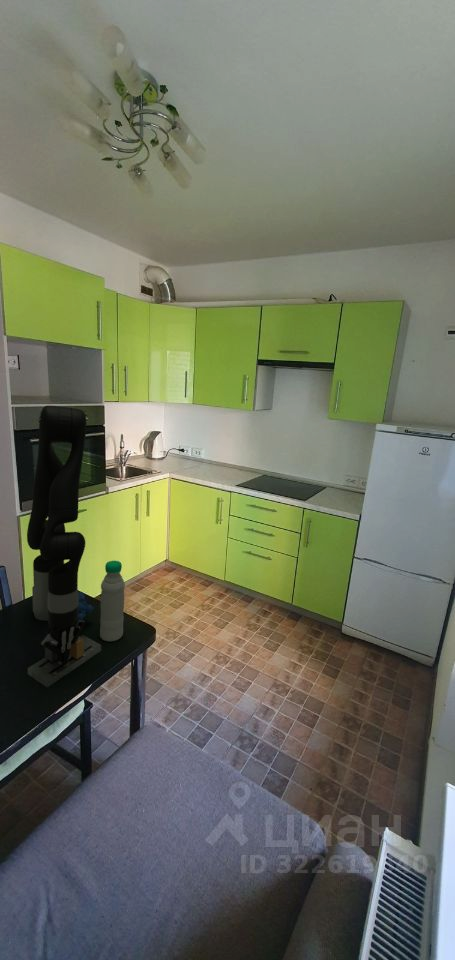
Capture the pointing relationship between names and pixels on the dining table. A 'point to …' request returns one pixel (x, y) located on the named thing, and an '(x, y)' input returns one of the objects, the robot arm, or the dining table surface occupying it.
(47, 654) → the fader
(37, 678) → the console
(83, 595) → the grapes
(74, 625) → the robot arm
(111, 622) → the water bottle
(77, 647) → the fader
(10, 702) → the dining table surface
